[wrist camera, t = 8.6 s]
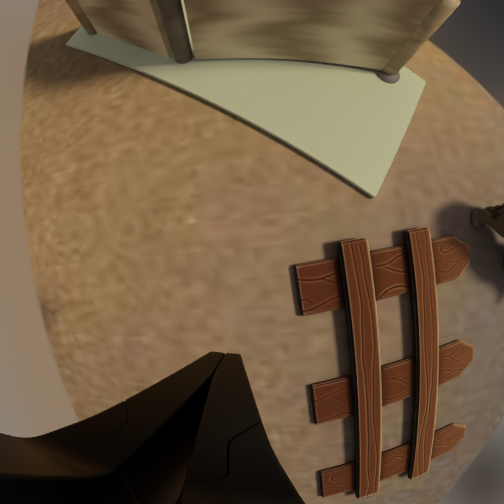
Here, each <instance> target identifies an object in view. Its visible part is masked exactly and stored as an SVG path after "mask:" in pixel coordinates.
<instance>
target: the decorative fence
mask: <svg viewBox="0 0 504 504" xmlns="http://www.w3.org/2000/svg"><path fill="white" fill-rule="evenodd" d="M403 235H404V241H405V245H401V246H396V247H390V248H385V249H380V250H374V251H369V245H368V239H366V238H359V239H353V240H347V241H341V242H338V243H337V244H336V247H337V253H338V257H336V258H330V259H325V260H319V261H314V262H308V263H302V264H296V265H294V267H293V268H294V274H295V280H296V287H297V294H298V300H299V307H300V314H301V315H302V316H308V315H313V314H318V313H323V312H328V311H332V310H337V309H342V308H345V312H346V321H347V330H348V340H349V350H350V361H351V375H347V376H343V377H339V378H335V379H331V380H327V381H322V382H318V383H313V384H311V385H310V389H311V398H312V406H313V415H314V422H315V424H322V423H326V422H330V421H334V420H338V419H341V418H345V417H349V416H352V415H354V424H355V461H352V462H349V463H345V464H342V465H338V466H334V467H331V468H327V469H323V470H320V471H319V474H320V485H321V495H322V497H327V496H331V495H335V494H339V493H342V492H346V491H349V490H353V489H356V491H355V495H356V497H357V498H362V497H365V496H368V495H371V494H374V493H377V492H378V491H379V485H380V480H383V479H386V478H389V477H391V476H394V475H397V474H399V473H402V472H404V471H407V470H408V478H409V479H414V478H416V477H418V476H420V475H423V474H425V473H427V472H428V471H429V466H430V460H432V459H434V458H436V457H438V456H441V455H443V454H445V453H447V452H449V451H450V450H451V449H452V448H453V447H454V446H455V445H456V444H457V443H458V442H459V441H460V440H461V439H462V438H463V437H464V434H465V428H466V426H465V425H462V424H456V423H451V424H449V425H447V426H445V427H443V428H440V429H438V430H436V431H434V430H435V421H436V409H437V395H438V385H441V384H443V383H445V382H448V381H450V380H452V379H455V378H457V377H459V376H460V374H461V373H462V372H463V371H464V370H465V369H466V367H467V366H468V365H469V364H470V362H471V361H472V360H473V345H470V344H468V343H466V342H463V341H461V340H455V341H452V342H450V343H447V344H444V345H442V346H439V326H438V304H437V290H436V285H438V284H442V283H446V282H449V281H453V280H456V279H458V278H459V277H460V275H461V274H462V273H463V271H464V270H465V269H466V267H467V266H468V265H469V263H470V252H469V246H468V245H467V244H465V243H464V242H462V241H461V240H459V239H458V238H456V237H454V236H447V237H442V238H437V239H432V240H431V236H430V229H429V228H428V227H423V228H418V229H412V230H406V231H405V232H404V233H403ZM409 292H411V303H412V317H413V336H414V356H411V357H408V358H405V359H402V360H399V361H395V362H392V363H389V364H386V365H383V366H381V361H380V345H379V331H378V319H377V308H376V301H377V300H381V299H385V298H389V297H393V296H397V295H401V294H405V293H409ZM413 395H414V410H413V428H412V441H410V442H408V443H405V444H403V445H400V446H397V447H395V448H392V449H389V450H386V451H384V452H381V447H382V406H385V405H388V404H391V403H394V402H397V401H399V400H402V399H405V398H408V397H411V396H413Z"/></svg>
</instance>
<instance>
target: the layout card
mask: <svg viewBox="0 0 504 504" xmlns="http://www.w3.org/2000/svg"><path fill="white" fill-rule="evenodd" d="M181 3H182V7H183V12H184V17H185V21H186V26H187V30H188V35H189V39H190V44H191V49H192V53H193V58H192V60H191V61H190V62H188V63H185V64H179V63H177V62H176V61H175V58H174V54H172V55H171V57H170V58H167V57H165V56H162V55H159V54H157V53H154V52H151V51H148V50H146V49H143V48H140V47H137V46H134V45H131V44H128V43H125V42H122V41H119V40H116V39H113V38H109V37H106V36H103V35H99V34H98V33H97V34H94V35H89V34H88V33H87V32H86V30H85V29H84V27H83V26H81V27H80V28H79V29H78V30H77V31H76V33H75V34H74V35H73V36H72V37H71V38H70V40H69V41H68V42H67V43H66V45H67V46H69V47H72V48H75V49H78V50H81V51H84V52H87V53H90V54H93V55H96V56H99V57H102V58H104V59H107V60H110V61H113V62H115V63H118V64H121V65H123V66H126V67H128V68H131V69H134V70H136V71H139V72H141V73H144V74H146V75H148V76H151V77H153V78H156V79H158V80H160V81H163V82H165V83H167V84H170V85H172V86H174V87H176V88H179V89H181V90H183V91H185V92H187V93H190V94H192V95H194V96H196V97H198V98H200V99H202V100H204V101H207V102H209V103H211V104H213V105H215V106H217V107H219V108H221V109H223V110H225V111H227V112H229V113H231V114H233V115H235V116H237V117H239V118H240V119H242V120H244V121H246V122H248V123H250V124H252V125H254V126H256V127H257V128H259V129H261V130H263V131H265V132H267V133H268V134H270V135H272V136H274V137H276V138H277V139H279V140H281V141H283V142H284V143H286V144H288V145H290V146H291V147H293V148H295V149H296V150H298V151H300V152H302V153H303V154H305V155H307V156H308V157H310V158H312V159H313V160H315V161H316V162H318V163H320V164H321V165H323V166H325V167H326V168H328V169H329V170H331V171H333V172H334V173H336V174H337V175H339V176H340V177H342V178H343V179H345V180H347V181H348V182H350V183H351V184H353V185H354V186H356V187H357V188H359V189H360V190H362V191H363V192H365V193H366V194H368V195H369V196H370V197H372V198H375V197H376V195H377V193H378V191H379V189H380V187H381V185H382V183H383V180H384V178H385V176H386V174H387V172H388V170H389V168H390V166H391V163H392V161H393V159H394V157H395V155H396V153H397V150H398V148H399V146H400V144H401V141H402V139H403V137H404V134H405V132H406V130H407V128H408V125H409V123H410V120H411V118H412V116H413V113H414V111H415V109H416V106H417V104H418V101H419V99H420V96H421V94H422V91H423V89H424V86H425V83H426V82H425V81H424V80H423V79H421V78H420V77H419V76H417V75H416V74H415V73H413V72H412V71H410V70H409V69H408V68H406V67H405V66H403V67H402V68H401V69H400V71H399V72H398V73H397V74H396V75H389V74H386V73H385V72H383V71H381V70H376V69H370V68H364V67H358V66H351V65H343V64H335V63H327V62H317V61H305V60H291V59H268V58H224V59H201V60H196V58H195V53H194V48H193V43H192V39H191V34H190V29H189V24H188V19H187V15H186V10H185V5H184V0H181Z"/></svg>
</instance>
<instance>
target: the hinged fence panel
mask: <svg viewBox="0 0 504 504" xmlns="http://www.w3.org/2000/svg"><path fill="white" fill-rule="evenodd" d="M459 4H460V0H184V5H185V10H186V15H187V19H188V24H189V29H190V34H191V39H192V43H193V48H194V53H195V58H196V60H201V59H224V58H268V59H291V60H305V61H317V62H327V63H335V64H343V65H351V66H358V67H364V68H370V69H376V70H381V71H383V72H385V73H386V74H389V75H396V74H397V73H398V72H399V71H400V69H401V68H402V67H403V66H404V65H405V64H406V63H407V62H408V61H409V59H410V58H411V57H412V56H413V55H414V54H415V53H416V52H417V51H418V50H419V48H420V47H421V46H422V45H423V44H424V43H425V42H426V41H427V40H428V38H429V37H430V36H431V35H432V34H433V33H434V32H435V31H436V30H437V29H438V27H439V26H440V25H441V24H442V23H443V22H444V21H445V20H446V19H447V17H449V15H450V14H451V13H452V12H453V11H454V10H455V9H456V8H457V7H458V6H459Z"/></svg>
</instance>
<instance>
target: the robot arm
mask: <svg viewBox="0 0 504 504" xmlns="http://www.w3.org/2000/svg"><path fill="white" fill-rule="evenodd" d="M0 504H305V503H304V501H303V500H302V498H301V497H300V495H299V494H298V492H297V491H296V489H295V487H294V486H293V484H292V482H291V481H290V479H289V478H288V476H287V474H286V473H285V471H284V469H283V468H282V466H281V464H280V463H279V461H278V459H277V457H276V455H275V453H274V451H273V449H272V447H271V445H270V442H269V440H268V437H267V435H266V432H265V429H264V426H263V424H262V421H261V418H260V415H259V412H258V409H257V405H256V402H255V399H254V396H253V393H252V390H251V387H250V384H249V380H248V377H247V374H246V371H245V368H244V364H243V361H242V358H241V355H240V354H233V353H226V354H224V353H221V352H209V353H208V354H206V355H204V356H203V357H201V358H199V359H198V360H196V361H194V362H192V363H191V364H189V365H187V366H186V367H184V368H182V369H180V370H179V371H177V372H175V373H173V374H172V375H170V376H168V377H166V378H165V379H163V380H161V381H159V382H158V383H156V384H154V385H152V386H150V387H149V388H147V389H145V390H143V391H141V392H139V393H138V394H136V395H134V396H132V397H130V398H128V399H126V400H125V402H124V401H123V402H121V403H119V404H117V405H115V406H113V407H111V408H109V409H107V410H105V411H103V412H101V413H99V414H97V415H94V416H92V417H89V418H87V419H85V420H82V421H80V422H77V423H74V424H72V425H69V426H66V427H64V428H61V429H58V430H55V431H53V432H50V433H47V434H44V435H41V436H37V437H31V438H20V437H14V436H10V435H6V434H2V433H0Z"/></svg>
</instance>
